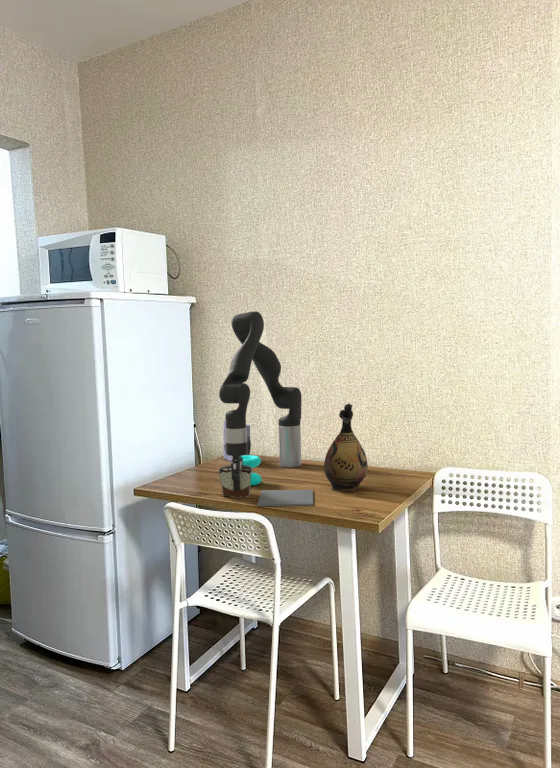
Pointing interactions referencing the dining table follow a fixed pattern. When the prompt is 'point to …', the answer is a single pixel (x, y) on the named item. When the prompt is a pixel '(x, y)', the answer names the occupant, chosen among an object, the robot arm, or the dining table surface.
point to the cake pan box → (225, 443)
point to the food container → (228, 482)
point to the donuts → (252, 462)
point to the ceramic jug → (345, 457)
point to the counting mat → (286, 498)
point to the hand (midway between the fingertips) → (237, 488)
